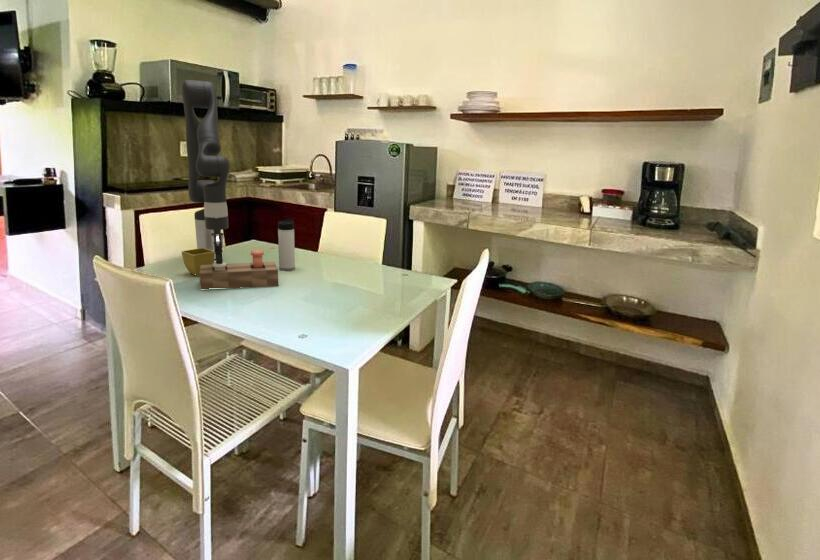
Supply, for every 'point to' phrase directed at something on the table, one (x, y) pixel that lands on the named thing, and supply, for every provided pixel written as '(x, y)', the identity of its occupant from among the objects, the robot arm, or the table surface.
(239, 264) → the block
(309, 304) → the table surface
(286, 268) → the travel mug
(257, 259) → the red plug
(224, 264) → the grey plug
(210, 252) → the flower pot
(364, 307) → the table surface
